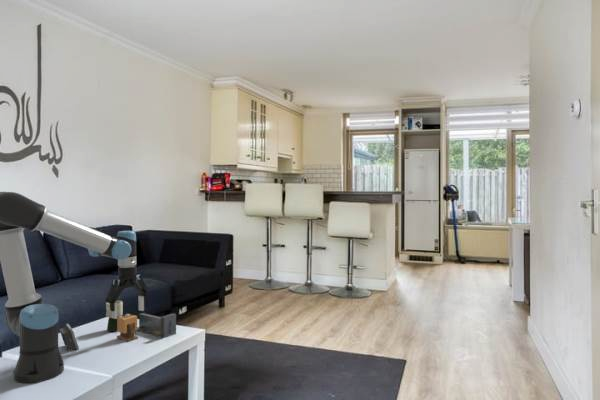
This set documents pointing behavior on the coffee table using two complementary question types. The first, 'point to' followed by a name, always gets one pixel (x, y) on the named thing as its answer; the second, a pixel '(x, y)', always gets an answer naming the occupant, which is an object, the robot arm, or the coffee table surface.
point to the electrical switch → (69, 337)
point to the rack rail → (157, 325)
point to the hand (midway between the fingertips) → (128, 314)
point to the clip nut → (126, 322)
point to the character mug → (111, 321)
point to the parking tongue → (128, 334)
